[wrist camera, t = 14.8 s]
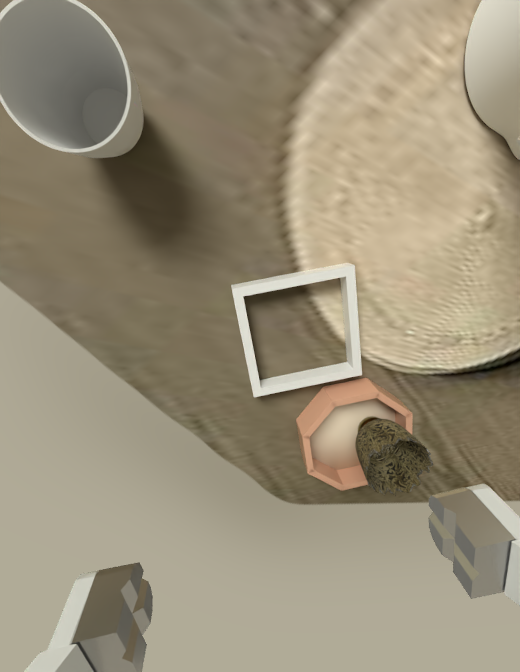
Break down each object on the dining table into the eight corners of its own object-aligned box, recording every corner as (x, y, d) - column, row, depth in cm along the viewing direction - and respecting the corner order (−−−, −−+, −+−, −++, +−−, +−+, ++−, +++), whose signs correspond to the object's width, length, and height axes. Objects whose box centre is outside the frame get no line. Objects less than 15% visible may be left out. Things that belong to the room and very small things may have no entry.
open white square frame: (347, 262, 36) (354, 265, 34) (355, 367, 41) (361, 374, 39) (231, 285, 36) (231, 288, 34) (252, 389, 40) (253, 397, 39)
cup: (111, 42, 28) (55, -45, 18) (177, 132, 30) (158, 96, 21) (42, 108, 29) (-44, 57, 19) (112, 190, 31) (66, 179, 22)
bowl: (397, 371, 42) (412, 384, 39) (399, 456, 47) (412, 474, 43) (291, 393, 41) (298, 408, 38) (305, 477, 46) (311, 497, 43)
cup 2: (373, 456, 45) (403, 505, 38) (330, 437, 43) (353, 484, 36) (407, 414, 43) (446, 457, 36) (364, 392, 41) (395, 431, 34)
